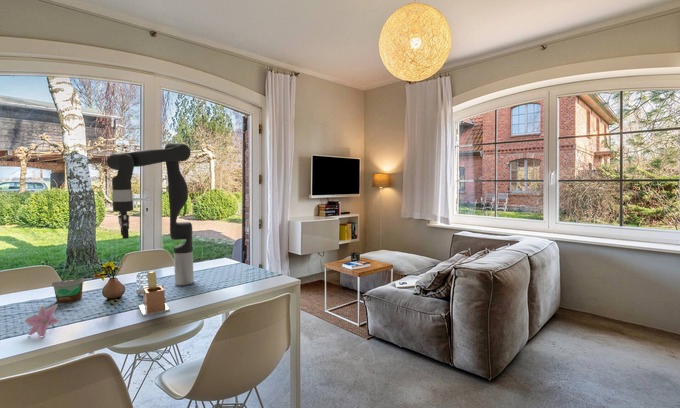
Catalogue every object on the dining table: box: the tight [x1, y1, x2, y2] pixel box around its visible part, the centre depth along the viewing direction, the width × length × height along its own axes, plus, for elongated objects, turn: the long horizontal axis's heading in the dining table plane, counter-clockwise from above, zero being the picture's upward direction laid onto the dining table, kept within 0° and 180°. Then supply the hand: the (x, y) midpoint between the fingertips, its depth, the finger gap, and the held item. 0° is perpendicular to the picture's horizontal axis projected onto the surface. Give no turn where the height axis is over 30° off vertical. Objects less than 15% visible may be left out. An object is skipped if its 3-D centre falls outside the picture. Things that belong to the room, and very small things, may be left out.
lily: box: [24, 303, 60, 337], centre depth 130 cm, size 12×12×10 cm
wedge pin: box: [146, 270, 158, 292], centre depth 149 cm, size 3×3×11 cm
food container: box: [51, 277, 85, 304], centre depth 161 cm, size 12×6×10 cm, turn 117°
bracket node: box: [137, 283, 171, 317], centre depth 152 cm, size 13×10×10 cm
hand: (124, 236), depth 153 cm, fingers open, 8 cm apart
